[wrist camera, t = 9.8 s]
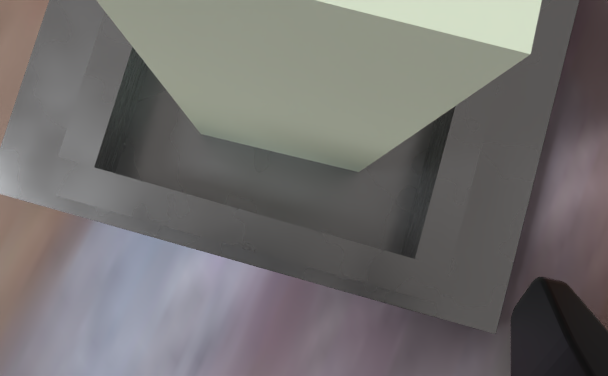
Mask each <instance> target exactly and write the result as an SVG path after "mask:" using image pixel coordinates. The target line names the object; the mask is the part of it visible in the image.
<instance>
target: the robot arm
mask: <svg viewBox="0 0 608 376" xmlns="http://www.w3.org/2000/svg"><path fill="white" fill-rule="evenodd" d="M511 376H608V331H607V330H606V328H605V327H604V326H603V325H602V324H601V323H600V321H599V320H598V319H597V318H596V317H595V316H594V314H593V313H592V312H591V311H590V310H589V309H588V308H587V306H586V305H585V304H584V303H583V302H582V301H581V299H580V298H579V297H578V296H577V295H576V294H575V292H574V291H573V290H572V289H571V288H570V287H569V286H568V285H567V284H566V283H564V282H562V281H558V280H554V279H550V278H546V277H538V278H536V279H535V280H534V281H533V282H532V284H531V285H530V286H529V288H528V289H527V291H526V292H525V294H524V295H523V296H522V298H521V299H520V301H519V302H518V303H517V305H516V306H515V308H514V310H513V313H512V316H511Z"/></svg>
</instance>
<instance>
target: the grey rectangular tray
mask: <svg viewBox="0 0 608 376" xmlns="http://www.w3.org/2000/svg"><path fill="white" fill-rule="evenodd" d="M578 4H579V0H542V2H541V7H540V12H539V16H538V21H537V26H536V31H535V36H534V40H533V45H532V50H531V54H530V55H529V56H527V57H526V58H524V59H523V60H522V61H520V62H519V63H517V64H516V65H514V66H513V67H511V68H510V69H508V70H507V71H506V72H504V73H503V74H501V75H500V76H498V77H497V78H495V79H494V80H492V81H491V82H490V83H488V84H487V85H485V86H484V87H482V88H481V89H479V90H478V91H476V92H475V93H473V94H472V95H471V96H469V97H468V98H466V99H465V100H463V101H462V102H460V103H459V104H457V105H456V106H455V107H453V108H452V109H450V110H449V111H447V112H446V113H444V114H443V115H441V116H440V117H439V118H437V119H436V120H434V121H433V122H431V123H430V124H428V125H427V126H425V127H424V128H422V129H421V130H420V131H418V132H417V133H415V134H414V135H412V136H411V137H409V138H408V139H406V140H405V141H404V142H402V143H401V144H399V145H398V146H396V147H395V148H393V149H392V150H390V151H389V152H387V153H386V154H385V155H383V156H382V157H380V158H379V159H377V160H376V161H374V162H373V163H371V164H370V165H369V166H367V167H366V168H364V169H363V170H361V171H360V172H356V171H352V170H348V169H344V168H340V167H335V166H331V165H327V164H323V163H319V162H315V161H311V160H306V159H302V158H298V157H294V156H290V155H286V154H282V153H277V152H273V151H269V150H265V149H261V148H257V147H252V146H248V145H244V144H240V143H236V142H232V141H228V140H223V139H219V138H215V137H211V136H207V135H203V134H200V132H199V131H198V130H197V129H196V127H195V126H194V125H193V123H192V122H191V121H190V120H189V118H188V117H187V116H186V114H185V113H184V112H183V111H182V109H181V108H180V107H179V106H178V104H177V103H176V102H175V100H174V99H173V98H172V97H171V95H170V94H169V93H168V91H167V90H166V89H165V88H164V86H163V85H162V84H161V82H160V81H159V80H158V79H157V77H156V76H155V75H154V74H153V72H152V71H151V70H150V68H149V67H148V66H147V65H146V63H145V62H144V61H143V59H142V58H141V57H140V56H139V54H138V53H137V52H136V51H135V49H134V48H133V47H132V45H131V44H130V43H129V42H128V40H127V39H126V38H125V36H124V35H123V34H122V33H121V31H120V30H119V29H118V27H117V26H116V25H115V24H114V22H113V21H112V20H111V19H110V17H109V16H108V15H107V13H106V12H105V11H104V10H103V8H102V7H101V6H100V4H99V3H98V2H97V1H96V0H49V3H48V6H47V9H46V12H45V15H44V18H43V21H42V24H41V27H40V30H39V33H38V36H37V39H36V42H35V45H34V48H33V51H32V54H31V57H30V60H29V63H28V66H27V69H26V72H25V75H24V78H23V81H22V84H21V87H20V90H19V93H18V96H17V99H16V102H15V105H14V108H13V111H12V114H11V117H10V120H9V123H8V126H7V129H6V132H5V135H4V138H3V141H2V144H1V147H0V194H2V195H6V196H9V197H13V198H16V199H20V200H23V201H27V202H30V203H34V204H37V205H41V206H45V207H48V208H52V209H55V210H59V211H62V212H66V213H69V214H73V215H76V216H80V217H83V218H87V219H90V220H94V221H97V222H101V223H105V224H108V225H112V226H115V227H119V228H122V229H126V230H129V231H133V232H136V233H140V234H143V235H147V236H150V237H154V238H158V239H161V240H165V241H168V242H172V243H175V244H179V245H182V246H186V247H189V248H193V249H196V250H200V251H203V252H207V253H211V254H214V255H218V256H221V257H225V258H228V259H232V260H235V261H239V262H242V263H246V264H249V265H253V266H256V267H260V268H264V269H267V270H271V271H274V272H278V273H281V274H285V275H288V276H292V277H295V278H299V279H302V280H306V281H309V282H313V283H317V284H320V285H324V286H327V287H331V288H334V289H338V290H341V291H345V292H348V293H352V294H355V295H359V296H362V297H366V298H370V299H373V300H377V301H380V302H384V303H387V304H391V305H394V306H398V307H401V308H405V309H408V310H412V311H415V312H419V313H422V314H426V315H430V316H433V317H437V318H440V319H444V320H447V321H451V322H454V323H458V324H461V325H465V326H468V327H472V328H475V329H479V330H483V331H486V332H490V333H493V334H496V330H497V326H498V322H499V318H500V314H501V311H502V307H503V303H504V299H505V295H506V291H507V287H508V283H509V279H510V275H511V271H512V267H513V263H514V259H515V255H516V251H517V247H518V243H519V239H520V235H521V231H522V227H523V223H524V219H525V215H526V211H527V207H528V203H529V199H530V195H531V191H532V187H533V183H534V179H535V175H536V171H537V167H538V163H539V159H540V155H541V151H542V147H543V143H544V139H545V135H546V131H547V127H548V123H549V119H550V115H551V111H552V107H553V103H554V99H555V95H556V91H557V87H558V83H559V79H560V75H561V71H562V67H563V63H564V59H565V55H566V51H567V47H568V43H569V39H570V36H571V32H572V28H573V24H574V20H575V16H576V12H577V8H578Z"/></svg>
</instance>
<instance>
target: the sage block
mask: <svg viewBox="0 0 608 376" xmlns="http://www.w3.org/2000/svg"><path fill="white" fill-rule="evenodd" d="M96 1H97V2H98V3H99V4H100V6H101V7H102V8H103V10H104V11H105V12H106V13H107V15H108V16H109V17H110V19H111V20H112V21H113V22H114V24H115V25H116V26H117V27H118V29H119V30H120V31H121V33H122V34H123V35H124V36H125V38H126V39H127V40H128V42H129V43H130V44H131V45H132V47H133V48H134V49H135V51H136V52H137V53H138V54H139V56H140V57H141V58H142V59H143V61H144V62H145V63H146V65H147V66H148V67H149V68H150V70H151V71H152V72H153V74H154V75H155V76H156V77H157V79H158V80H159V81H160V82H161V84H162V85H163V86H164V88H165V89H166V90H167V91H168V93H169V94H170V95H171V97H172V98H173V99H174V100H175V102H176V103H177V104H178V106H179V107H180V108H181V109H182V111H183V112H184V113H185V114H186V116H187V117H188V118H189V120H190V121H191V122H192V123H193V125H194V126H195V127H196V129H197V130H198V131H199V132H200V134H203V135H207V136H211V137H215V138H219V139H223V140H228V141H232V142H236V143H240V144H244V145H248V146H252V147H257V148H261V149H265V150H269V151H273V152H277V153H282V154H286V155H290V156H294V157H298V158H302V159H306V160H311V161H315V162H319V163H323V164H327V165H331V166H335V167H340V168H344V169H348V170H352V171H356V172H360V171H361V170H363V169H364V168H366V167H367V166H369V165H370V164H371V163H373V162H374V161H376V160H377V159H379V158H380V157H382V156H383V155H385V154H386V153H387V152H389V151H390V150H392V149H393V148H395V147H396V146H398V145H399V144H401V143H402V142H404V141H405V140H406V139H408V138H409V137H411V136H412V135H414V134H415V133H417V132H418V131H420V130H421V129H422V128H424V127H425V126H427V125H428V124H430V123H431V122H433V121H434V120H436V119H437V118H439V117H440V116H441V115H443V114H444V113H446V112H447V111H449V110H450V109H452V108H453V107H455V106H456V105H457V104H459V103H460V102H462V101H463V100H465V99H466V98H468V97H469V96H471V95H472V94H473V93H475V92H476V91H478V90H479V89H481V88H482V87H484V86H485V85H487V84H488V83H490V82H491V81H492V80H494V79H495V78H497V77H498V76H500V75H501V74H503V73H504V72H506V71H507V70H508V69H510V68H511V67H513V66H514V65H516V64H517V63H519V62H520V61H522V60H523V59H524V58H526V57H527V56H529V55H530V54H531V50H532V45H533V40H534V36H535V31H536V26H537V21H538V16H539V12H540V7H541V2H542V0H96Z"/></svg>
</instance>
